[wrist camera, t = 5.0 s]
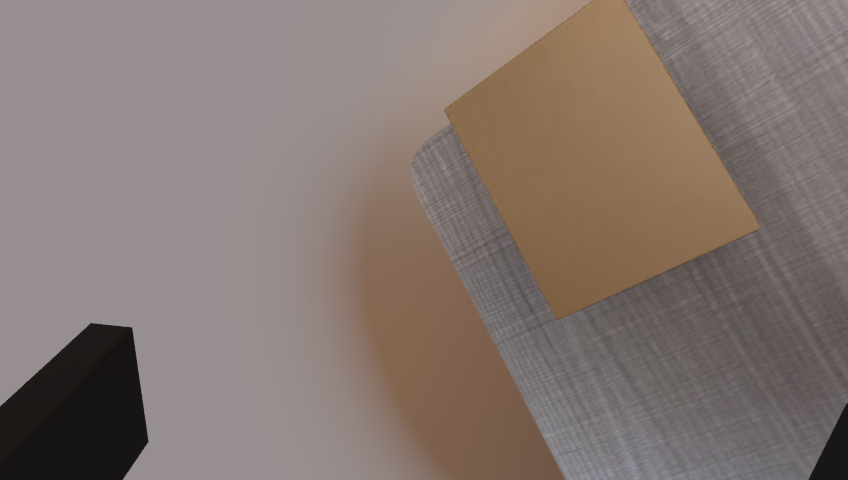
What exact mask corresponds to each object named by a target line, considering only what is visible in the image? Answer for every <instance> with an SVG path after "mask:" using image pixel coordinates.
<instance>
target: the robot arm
mask: <svg viewBox="0 0 848 480" xmlns="http://www.w3.org/2000/svg"><path fill="white" fill-rule="evenodd" d="M136 359H137V358H136V352H135V345H134V338H133V331H132V328H131V327H122V326H112V325H102V324H93V323H91V324H90V325H89V326H87V328H85V329H84V330H83V331H82V332H81V333H80V334H79V335H78V336H77V337H75V338H74V339H73V340H72V341H71V342H70V343H69V344H68V345H67V346H66V347H65V348H63V349H62V350H61V351H60V352H59V353H58V354H57V355H56V356H55V357H54V358H53V359H51V360H50V362H48V363H47V364H46V365H45V366H44V367H43V368H42V369H41V370H39V372H38V373H36V374H35V375H34V376H33V377H32V378H31V379H30V380H29V381H27V382H26V383H25V384H24V385H23V386H22V387H21V388H20V389H19V390H18V391H17V392H16V393H14V394H13V395H12V396H11V397H10V398H9V399H8V400H7V401H6V402H5V403H4V404H2V405H1V406H0V480H123V478H124V477H125V475H126V474H127V472H128V471H129V470H130V468H131V467H132V465H133V464H134V462H135V461H136V459H137V458H138V456H139V455H140V453H141V452H142V450H143V449H144V447H145V446H146V445H147V443H148V436H147V428H146V421H145V415H144V407H143V400H142V394H141V387H140V380H139V373H138V365H137V360H136ZM809 480H848V403H847V404H846V406H845V408H844V410H843V412H842V414H841V416H840V418H839V420H838V422H837V424H836V426H835V428H834V430H833V432H832V434H831V436H830V438H829V440H828V442H827V444H826V446H825V448H824V450H823V452H822V454H821V456H820V458H819V460H818V462H817V464H816V466H815V468H814V470H813V472H812V474H811V476H810V478H809Z"/></svg>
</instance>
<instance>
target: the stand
mask: <svg viewBox="0 0 848 480" xmlns="http://www.w3.org/2000/svg"><path fill="white" fill-rule="evenodd" d="M444 111H445V113H446V114H447V116H448V118H449V120H450V122H451V124H452V126H453V128H454V129H455V131H456V133H457V135H458V137H459V139H460V141H461V142H462V144H463V146H464V148H465V150H466V152H467V154H468V155H469V157H470V159H471V161H472V163H473V165H474V167H475V169H476V170H477V172H478V174H479V176H480V178H481V180H482V182H483V183H484V185H485V187H486V189H487V191H488V193H489V195H490V197H491V198H492V200H493V202H494V204H495V206H496V208H497V210H498V211H499V213H500V215H501V217H502V219H503V221H504V223H505V225H506V226H507V228H508V230H509V232H510V234H511V236H512V238H513V239H514V241H515V243H516V245H517V247H518V249H519V251H520V252H521V254H522V256H523V258H524V260H525V262H526V264H527V266H528V267H529V269H530V271H531V273H532V275H533V277H534V279H535V280H536V282H537V284H538V286H539V288H540V290H541V292H542V294H543V295H544V297H545V299H546V301H547V303H548V305H549V307H550V308H551V310H552V312H553V314H554V316H555V318H556V319H557V320H559V319H561V318H564V317H566V316H568V315H570V314H572V313H575V312H577V311H579V310H581V309H584V308H586V307H588V306H590V305H592V304H595V303H597V302H599V301H601V300H604V299H606V298H608V297H610V296H612V295H615V294H617V293H619V292H621V291H624V290H626V289H628V288H630V287H632V286H635V285H637V284H639V283H641V282H644V281H646V280H648V279H650V278H652V277H655V276H657V275H659V274H661V273H664V272H666V271H668V270H670V269H673V268H675V267H677V266H679V265H681V264H684V263H686V262H688V261H690V260H693V259H695V258H697V257H699V256H701V255H704V254H706V253H708V252H710V251H713V250H715V249H717V248H719V247H721V246H724V245H726V244H728V243H730V242H733V241H735V240H737V239H739V238H741V237H744V236H746V235H748V234H750V233H753V232H755V231H757V230H759V229H761V226H760V224H759V222H758V221H757V219H756V217H755V216H754V214H753V212H752V211H751V209H750V207H749V206H748V204H747V202H746V201H745V199H744V197H743V196H742V194H741V192H740V191H739V189H738V187H737V186H736V184H735V182H734V181H733V179H732V177H731V176H730V174H729V173H728V171H727V169H726V168H725V166H724V164H723V163H722V161H721V159H720V158H719V156H718V154H717V153H716V151H715V149H714V148H713V146H712V144H711V143H710V141H709V139H708V138H707V136H706V134H705V133H704V131H703V129H702V128H701V126H700V124H699V123H698V121H697V119H696V118H695V116H694V114H693V113H692V111H691V109H690V108H689V106H688V104H687V103H686V101H685V99H684V98H683V96H682V94H681V93H680V91H679V89H678V88H677V86H676V84H675V83H674V81H673V79H672V78H671V76H670V74H669V73H668V71H667V70H666V68H665V66H664V65H663V63H662V61H661V60H660V58H659V56H658V55H657V53H656V51H655V50H654V48H653V46H652V45H651V43H650V41H649V40H648V38H647V36H646V35H645V33H644V31H643V30H642V28H641V26H640V25H639V23H638V21H637V20H636V18H635V16H634V15H633V13H632V11H631V10H630V8H629V6H628V5H627V3H626V1H625V0H593V1H592V2H590V3H589V4H588V5H586V6H585V7H583V8H582V9H581V10H579V11H578V12H577V13H575V14H574V15H573V16H571V17H570V18H569V19H567V20H566V21H565V22H563V23H562V24H560V25H559V26H557V27H556V28H555V29H553V30H552V31H551V32H549V33H548V34H547V35H545V36H544V37H542V38H541V39H540V40H538V41H537V42H536V43H534V44H533V45H532V46H530V47H529V48H527V49H526V50H525V51H523V52H522V53H521V54H519V55H518V56H516V57H515V58H514V59H512V60H511V61H510V62H508V63H507V64H506V65H504V66H503V67H501V68H500V69H499V70H497V71H496V72H495V73H493V74H492V75H491V76H489V77H488V78H486V79H485V80H484V81H482V82H481V83H480V84H478V85H477V86H475V87H474V88H473V89H471V90H470V91H469V92H467V93H466V94H465V95H463V96H462V97H461V98H459V99H458V100H457V101H455V102H454V103H452V104H451V105H450V106H448V107H447V108H446V109H444Z"/></svg>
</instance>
